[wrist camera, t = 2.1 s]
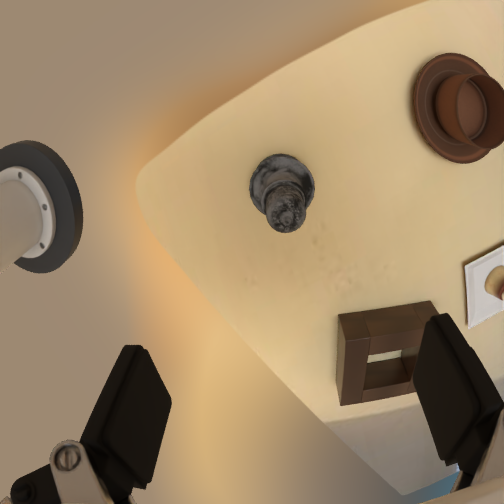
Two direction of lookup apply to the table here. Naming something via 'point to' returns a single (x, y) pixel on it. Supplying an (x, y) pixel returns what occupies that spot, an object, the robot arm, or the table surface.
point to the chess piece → (282, 191)
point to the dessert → (485, 287)
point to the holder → (379, 351)
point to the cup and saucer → (459, 108)
